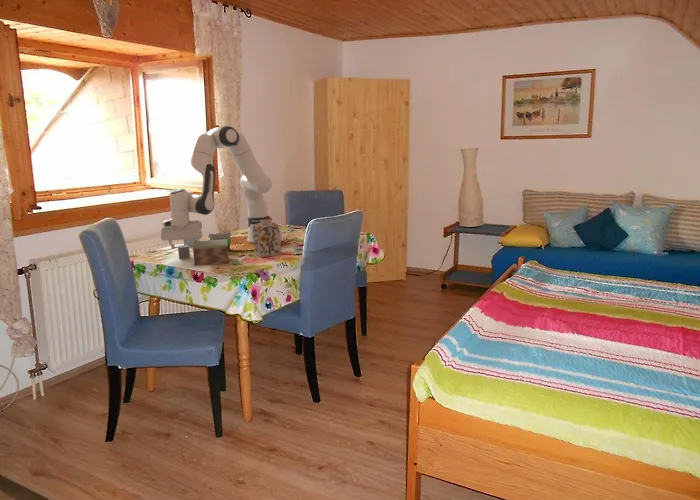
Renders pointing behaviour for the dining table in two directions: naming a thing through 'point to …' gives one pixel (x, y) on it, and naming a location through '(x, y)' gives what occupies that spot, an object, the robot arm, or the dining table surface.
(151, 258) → the dining table surface
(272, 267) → the dining table surface
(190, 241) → the medicine box
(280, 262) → the dining table surface
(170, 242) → the robot arm
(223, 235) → the food container
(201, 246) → the box lid
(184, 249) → the block
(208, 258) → the wooden box
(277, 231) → the decorative jar
